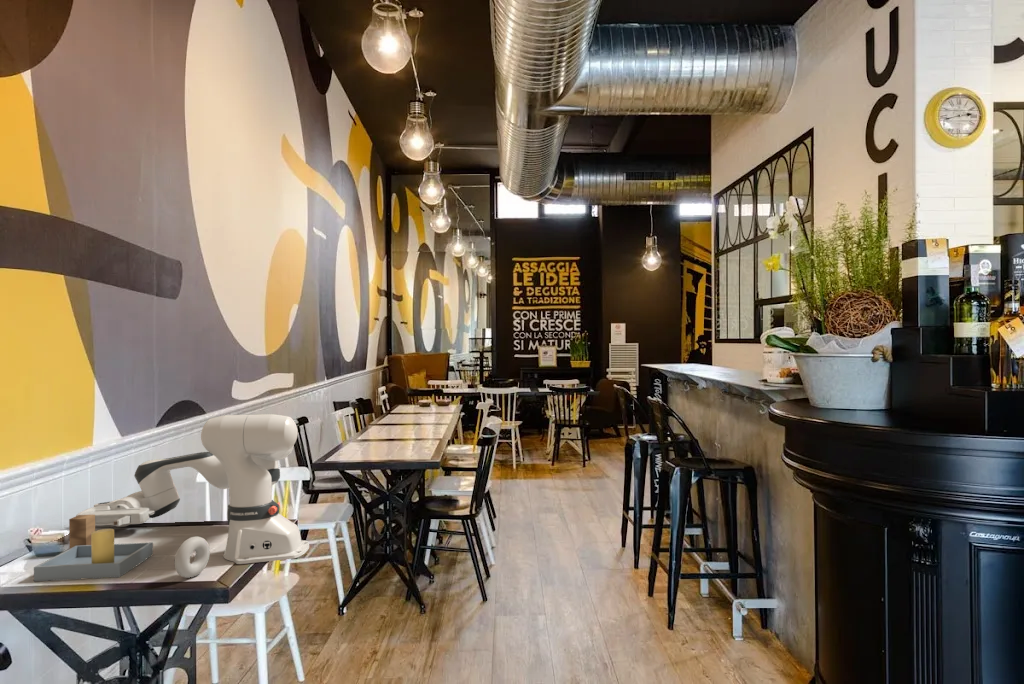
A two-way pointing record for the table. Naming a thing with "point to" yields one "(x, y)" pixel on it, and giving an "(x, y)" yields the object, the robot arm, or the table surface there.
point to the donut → (185, 552)
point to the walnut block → (81, 530)
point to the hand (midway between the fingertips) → (99, 523)
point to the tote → (80, 566)
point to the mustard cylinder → (102, 546)
